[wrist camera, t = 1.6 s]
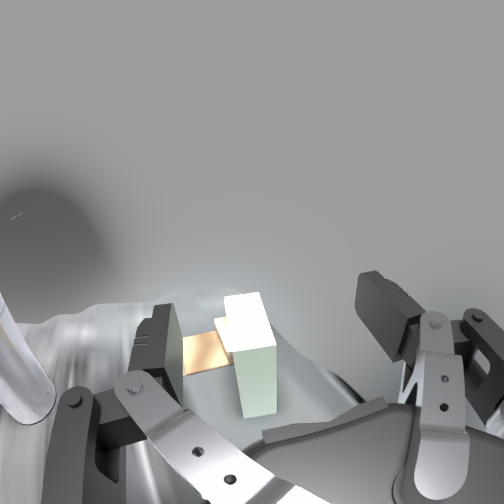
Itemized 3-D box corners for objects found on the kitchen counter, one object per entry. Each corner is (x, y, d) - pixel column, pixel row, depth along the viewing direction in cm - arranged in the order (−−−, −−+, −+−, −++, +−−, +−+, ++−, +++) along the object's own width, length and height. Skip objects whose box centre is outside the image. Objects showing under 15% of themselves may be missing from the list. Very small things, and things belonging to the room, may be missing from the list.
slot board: (155, 382, 31) (149, 369, 30) (151, 346, 37) (146, 334, 36) (260, 356, 35) (259, 343, 34) (243, 324, 41) (242, 312, 40)
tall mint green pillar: (243, 418, 26) (232, 351, 22) (234, 367, 34) (223, 297, 29) (276, 413, 27) (276, 344, 22) (262, 362, 34) (258, 292, 29)
